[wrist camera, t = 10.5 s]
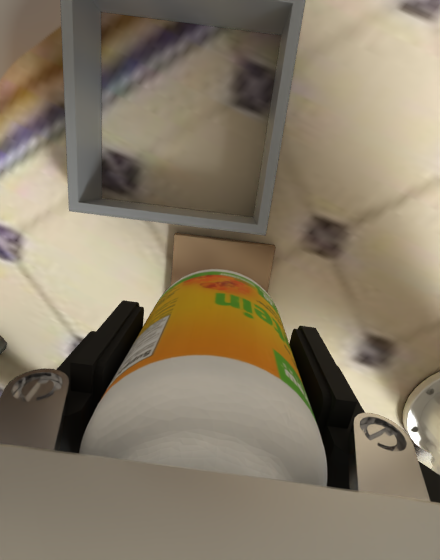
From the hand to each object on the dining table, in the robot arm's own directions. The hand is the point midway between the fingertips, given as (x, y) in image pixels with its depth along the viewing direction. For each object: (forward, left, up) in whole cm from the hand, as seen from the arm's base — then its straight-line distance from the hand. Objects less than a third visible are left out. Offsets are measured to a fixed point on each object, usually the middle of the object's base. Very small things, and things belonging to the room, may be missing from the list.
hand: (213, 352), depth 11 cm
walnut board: (-5, 0, -21) cm, 22 cm away
